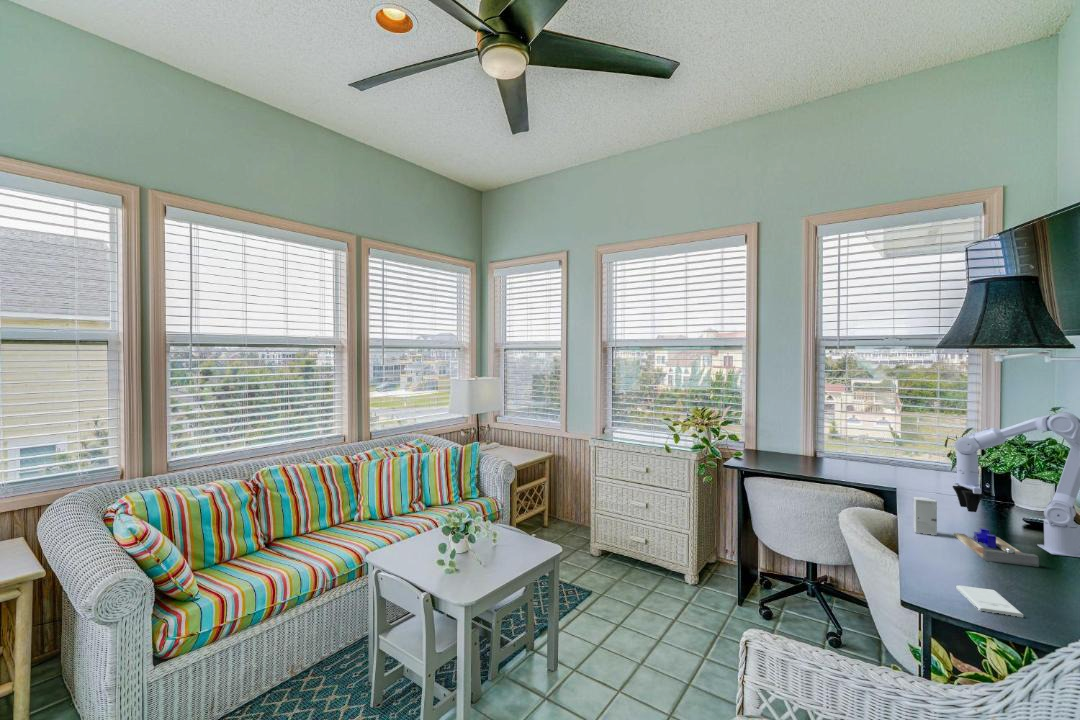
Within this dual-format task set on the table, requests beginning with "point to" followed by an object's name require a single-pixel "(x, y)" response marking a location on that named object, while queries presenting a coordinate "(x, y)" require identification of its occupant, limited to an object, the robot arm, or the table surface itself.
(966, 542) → the birch track
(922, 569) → the table surface
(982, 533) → the cable holder
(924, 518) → the skincare box
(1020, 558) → the block
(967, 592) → the external hard drive
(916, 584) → the table surface
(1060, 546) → the robot arm
